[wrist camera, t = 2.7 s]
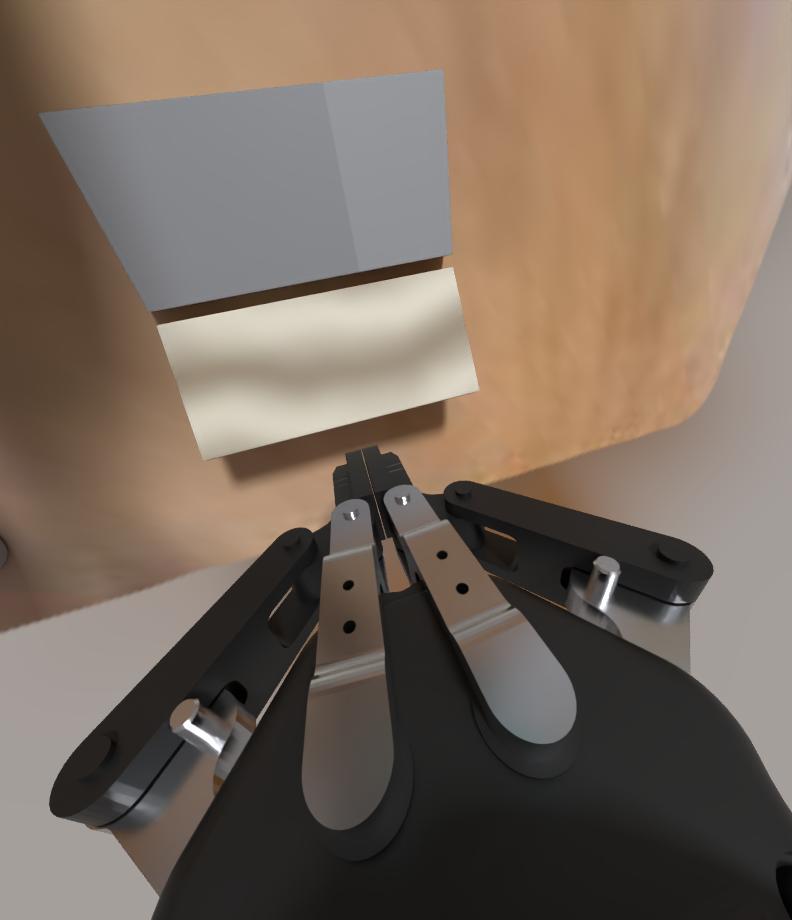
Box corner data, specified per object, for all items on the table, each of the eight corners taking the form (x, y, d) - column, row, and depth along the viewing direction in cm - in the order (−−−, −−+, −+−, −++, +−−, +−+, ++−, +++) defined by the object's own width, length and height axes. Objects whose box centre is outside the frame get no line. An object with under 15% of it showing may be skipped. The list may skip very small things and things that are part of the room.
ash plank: (172, 334, 18) (156, 325, 16) (445, 279, 20) (452, 266, 19) (215, 458, 19) (203, 460, 17) (470, 393, 21) (479, 390, 20)
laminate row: (63, 130, 13) (37, 113, 12) (432, 87, 15) (443, 68, 14) (160, 310, 17) (148, 312, 16) (443, 256, 19) (452, 254, 18)
